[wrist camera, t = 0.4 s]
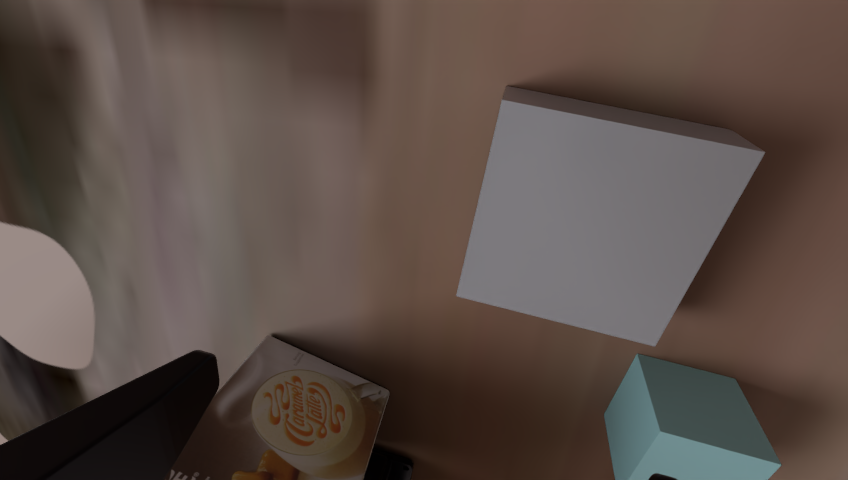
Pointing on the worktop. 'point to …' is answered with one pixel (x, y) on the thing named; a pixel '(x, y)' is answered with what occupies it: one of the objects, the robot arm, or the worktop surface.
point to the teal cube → (684, 426)
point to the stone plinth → (599, 212)
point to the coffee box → (285, 421)
